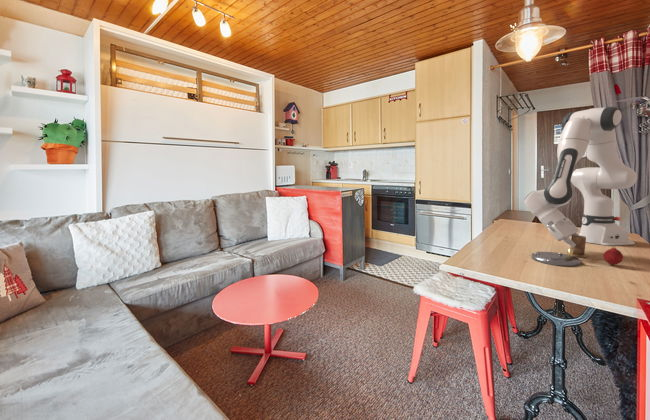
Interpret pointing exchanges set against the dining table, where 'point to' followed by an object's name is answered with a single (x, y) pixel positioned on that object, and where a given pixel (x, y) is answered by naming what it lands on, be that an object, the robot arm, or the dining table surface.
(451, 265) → the dining table surface
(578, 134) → the robot arm
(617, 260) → the onion
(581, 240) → the bushing
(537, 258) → the flange plate
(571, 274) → the dining table surface
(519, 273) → the dining table surface
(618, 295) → the dining table surface
